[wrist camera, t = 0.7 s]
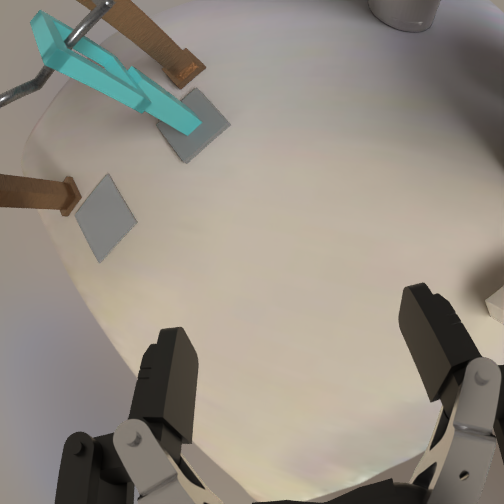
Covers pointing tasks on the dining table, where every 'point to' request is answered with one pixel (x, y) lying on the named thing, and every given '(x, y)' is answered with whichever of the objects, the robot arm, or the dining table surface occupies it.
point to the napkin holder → (496, 305)
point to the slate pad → (104, 218)
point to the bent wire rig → (102, 6)
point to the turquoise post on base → (131, 88)
